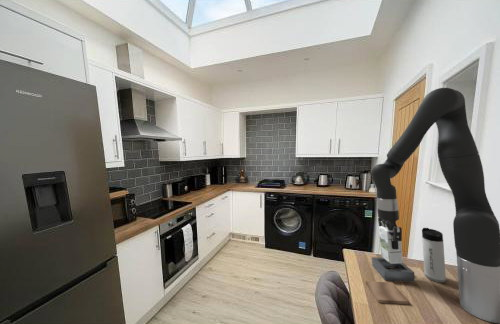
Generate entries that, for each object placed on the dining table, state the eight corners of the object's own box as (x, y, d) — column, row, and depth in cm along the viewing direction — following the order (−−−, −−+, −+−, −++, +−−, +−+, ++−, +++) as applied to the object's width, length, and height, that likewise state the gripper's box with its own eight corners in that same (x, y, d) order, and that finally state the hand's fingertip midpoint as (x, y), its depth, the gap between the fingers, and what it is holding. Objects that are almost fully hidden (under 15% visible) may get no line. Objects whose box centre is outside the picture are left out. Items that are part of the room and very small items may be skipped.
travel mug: (435, 272, 79) (432, 227, 79) (450, 282, 72) (447, 233, 72) (420, 272, 79) (417, 227, 79) (433, 282, 73) (430, 233, 73)
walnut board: (392, 284, 73) (392, 282, 73) (409, 304, 63) (409, 301, 63) (365, 283, 75) (365, 281, 75) (378, 302, 65) (378, 299, 65)
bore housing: (398, 266, 85) (397, 257, 85) (414, 282, 74) (414, 272, 74) (372, 265, 87) (371, 257, 87) (385, 280, 76) (384, 271, 76)
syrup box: (404, 263, 77) (401, 229, 77) (389, 264, 77) (386, 230, 78) (394, 256, 83) (391, 225, 83) (380, 257, 83) (378, 225, 83)
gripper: (408, 212, 73) (411, 253, 73) (387, 203, 87) (390, 238, 87) (387, 212, 74) (390, 253, 74) (370, 204, 88) (373, 238, 88)
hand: (390, 245), depth 80 cm, fingers closed on syrup box, 6 cm apart
